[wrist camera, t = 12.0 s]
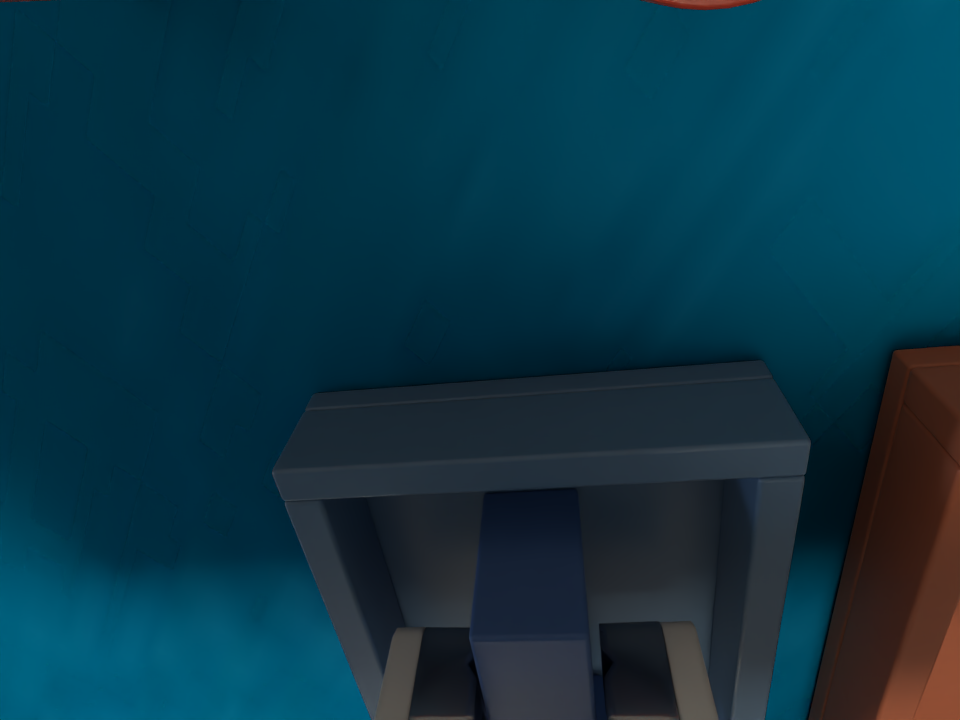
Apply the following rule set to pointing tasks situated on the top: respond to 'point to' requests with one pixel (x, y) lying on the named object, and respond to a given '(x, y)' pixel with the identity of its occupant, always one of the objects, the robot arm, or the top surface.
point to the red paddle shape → (677, 0)
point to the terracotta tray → (902, 558)
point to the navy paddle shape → (533, 610)
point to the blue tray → (551, 466)
